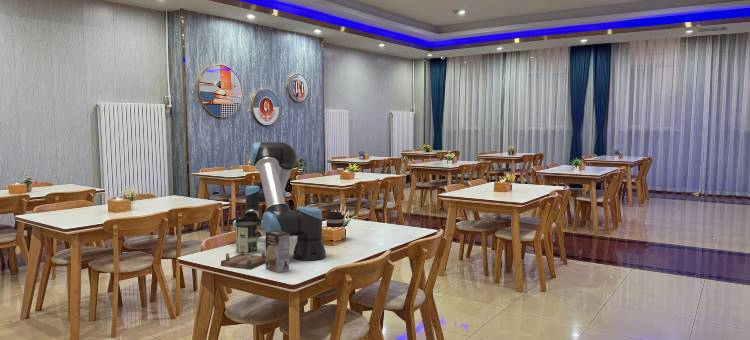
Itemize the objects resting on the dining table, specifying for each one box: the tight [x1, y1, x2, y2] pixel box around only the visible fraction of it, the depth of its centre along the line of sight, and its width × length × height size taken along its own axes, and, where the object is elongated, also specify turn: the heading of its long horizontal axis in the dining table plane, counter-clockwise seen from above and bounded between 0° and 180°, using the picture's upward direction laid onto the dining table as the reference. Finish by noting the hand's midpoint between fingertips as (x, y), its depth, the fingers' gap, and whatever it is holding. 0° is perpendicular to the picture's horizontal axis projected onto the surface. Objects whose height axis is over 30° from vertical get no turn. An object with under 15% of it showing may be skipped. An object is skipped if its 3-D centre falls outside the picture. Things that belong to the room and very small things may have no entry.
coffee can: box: [235, 222, 258, 255], centre depth 254 cm, size 10×10×14 cm
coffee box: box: [265, 230, 290, 274], centre depth 224 cm, size 9×6×16 cm
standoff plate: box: [220, 248, 266, 270], centre depth 234 cm, size 15×15×5 cm
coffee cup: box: [325, 211, 345, 228], centre depth 284 cm, size 10×10×15 cm
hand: (247, 225), depth 264 cm, fingers open, 13 cm apart
